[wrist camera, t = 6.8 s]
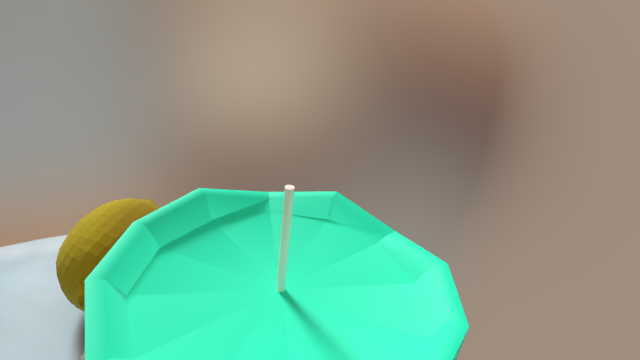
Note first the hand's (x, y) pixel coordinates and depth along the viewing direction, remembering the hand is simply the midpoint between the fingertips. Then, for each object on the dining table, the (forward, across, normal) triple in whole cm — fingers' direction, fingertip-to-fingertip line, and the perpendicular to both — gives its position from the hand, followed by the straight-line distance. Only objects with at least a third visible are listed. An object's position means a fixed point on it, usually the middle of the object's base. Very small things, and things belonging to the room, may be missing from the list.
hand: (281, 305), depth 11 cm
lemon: (+17, +13, +18) cm, 28 cm away
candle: (-3, 0, +7) cm, 8 cm away
